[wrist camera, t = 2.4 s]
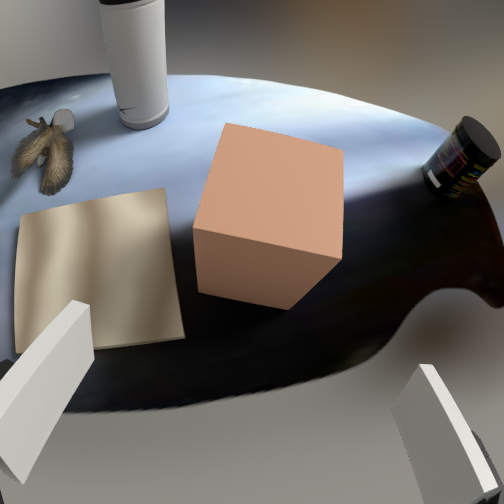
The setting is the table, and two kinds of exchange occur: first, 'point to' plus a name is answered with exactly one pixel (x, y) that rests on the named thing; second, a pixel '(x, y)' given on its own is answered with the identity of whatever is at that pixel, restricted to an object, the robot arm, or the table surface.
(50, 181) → the eagle figurine
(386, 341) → the table surface
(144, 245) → the birch pad
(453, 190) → the supplement container
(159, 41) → the travel mug
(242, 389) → the table surface
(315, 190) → the peach squarish block
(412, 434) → the robot arm
